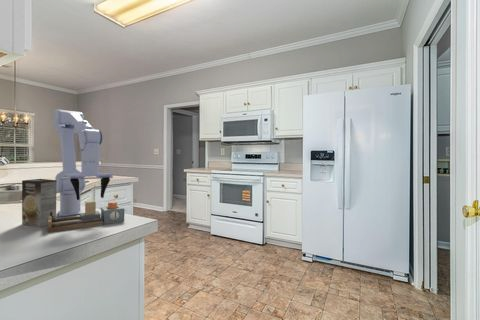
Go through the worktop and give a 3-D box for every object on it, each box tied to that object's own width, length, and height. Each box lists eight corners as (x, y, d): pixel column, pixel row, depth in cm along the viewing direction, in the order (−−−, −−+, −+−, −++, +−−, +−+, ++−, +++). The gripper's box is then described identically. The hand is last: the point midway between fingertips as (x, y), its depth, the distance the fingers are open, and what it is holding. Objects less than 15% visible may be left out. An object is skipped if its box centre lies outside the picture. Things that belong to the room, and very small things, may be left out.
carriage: (80, 218, 93) (80, 201, 92) (98, 216, 96) (98, 199, 96) (81, 221, 89) (81, 203, 88) (100, 219, 92) (100, 201, 92)
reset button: (107, 212, 97) (107, 202, 97) (116, 211, 99) (116, 201, 99) (108, 214, 95) (108, 203, 95) (118, 213, 97) (118, 202, 96)
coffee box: (20, 224, 89) (20, 180, 89) (39, 220, 96) (39, 178, 95) (39, 227, 87) (39, 181, 86) (57, 222, 93) (57, 179, 93)
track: (48, 225, 88) (48, 216, 88) (99, 219, 98) (99, 210, 98) (47, 232, 81) (47, 222, 81) (102, 224, 91) (103, 215, 91)
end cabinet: (100, 219, 98) (101, 207, 97) (120, 217, 102) (120, 205, 102) (104, 224, 92) (104, 210, 92) (124, 221, 96) (124, 208, 96)
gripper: (67, 162, 84) (67, 202, 85) (114, 162, 93) (114, 198, 93) (66, 161, 90) (66, 198, 90) (110, 161, 99) (110, 195, 99)
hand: (90, 198), depth 92 cm, fingers open, 7 cm apart
